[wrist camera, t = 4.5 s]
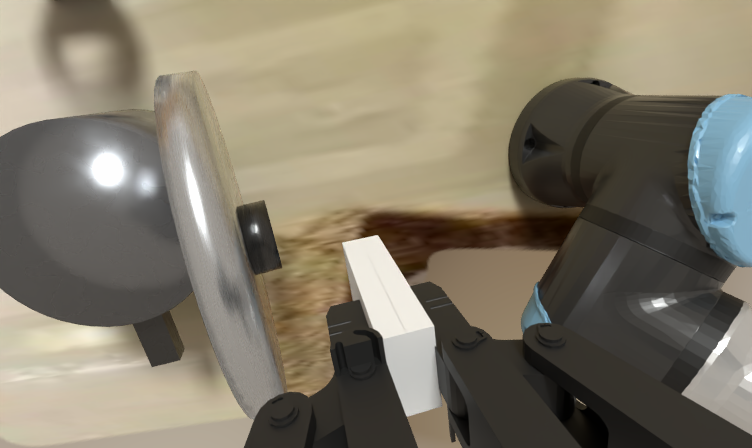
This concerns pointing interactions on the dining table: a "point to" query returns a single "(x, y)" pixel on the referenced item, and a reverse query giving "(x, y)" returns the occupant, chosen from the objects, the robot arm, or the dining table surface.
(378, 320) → the robot arm
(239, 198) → the lid
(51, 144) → the cooker pot
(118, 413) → the dining table surface
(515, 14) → the dining table surface
